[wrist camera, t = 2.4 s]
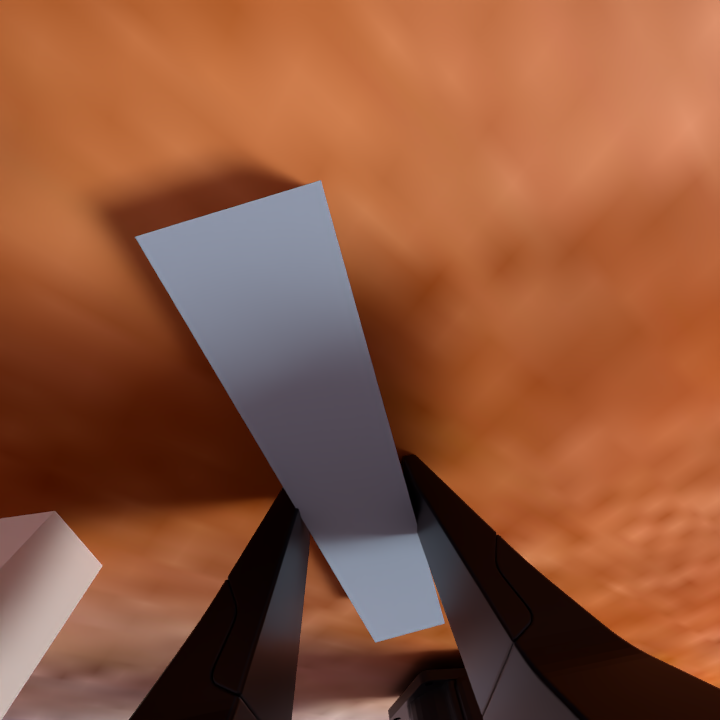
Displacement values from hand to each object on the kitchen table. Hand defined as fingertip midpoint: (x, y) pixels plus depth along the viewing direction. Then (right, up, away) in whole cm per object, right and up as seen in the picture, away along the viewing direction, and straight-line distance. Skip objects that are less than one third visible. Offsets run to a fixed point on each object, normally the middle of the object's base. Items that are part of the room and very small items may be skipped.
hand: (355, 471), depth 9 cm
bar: (0, +1, +1) cm, 1 cm away
